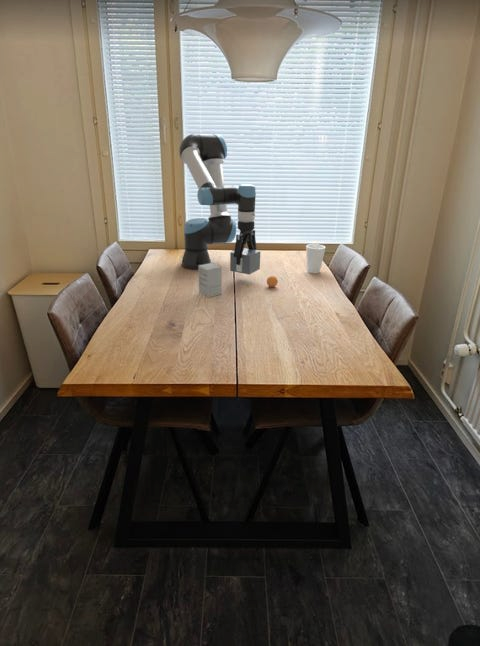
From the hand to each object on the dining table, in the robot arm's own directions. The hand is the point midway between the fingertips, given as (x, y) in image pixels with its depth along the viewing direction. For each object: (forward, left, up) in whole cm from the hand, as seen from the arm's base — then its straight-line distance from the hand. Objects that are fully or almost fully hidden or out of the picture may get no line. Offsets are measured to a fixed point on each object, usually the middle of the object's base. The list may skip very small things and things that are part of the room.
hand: (245, 268), depth 206 cm
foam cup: (+22, +32, -6) cm, 40 cm away
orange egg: (+14, 0, -4) cm, 15 cm away
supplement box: (-5, -23, -7) cm, 24 cm away
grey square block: (0, 0, -1) cm, 1 cm away
